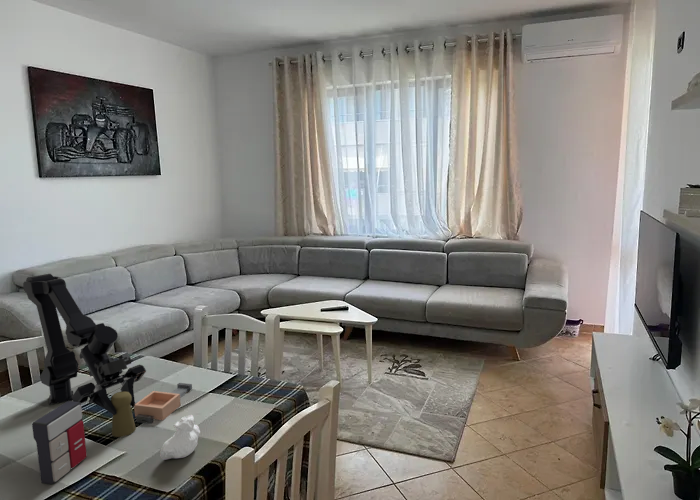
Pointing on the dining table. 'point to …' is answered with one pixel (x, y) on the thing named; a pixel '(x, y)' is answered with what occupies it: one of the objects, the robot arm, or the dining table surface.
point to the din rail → (181, 390)
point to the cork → (122, 415)
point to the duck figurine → (181, 439)
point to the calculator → (59, 441)
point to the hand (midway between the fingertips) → (124, 410)
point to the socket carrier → (158, 404)
